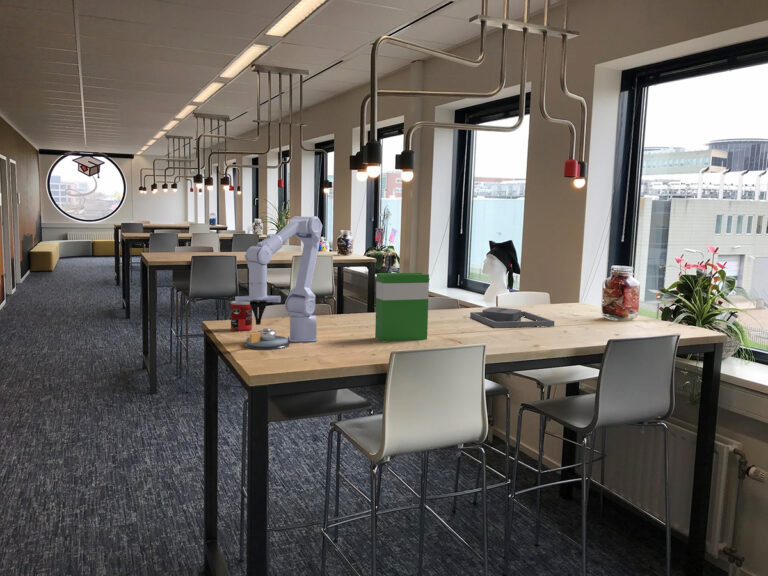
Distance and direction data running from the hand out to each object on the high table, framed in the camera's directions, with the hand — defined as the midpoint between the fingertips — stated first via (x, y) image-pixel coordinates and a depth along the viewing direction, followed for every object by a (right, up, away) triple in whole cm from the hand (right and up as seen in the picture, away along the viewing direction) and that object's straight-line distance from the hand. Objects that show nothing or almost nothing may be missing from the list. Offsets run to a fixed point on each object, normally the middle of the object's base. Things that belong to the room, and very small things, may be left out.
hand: (258, 324), depth 205 cm
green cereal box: (+48, -7, +25) cm, 54 cm away
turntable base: (+2, -8, +8) cm, 11 cm away
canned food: (-13, -5, +34) cm, 37 cm away
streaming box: (+93, -3, +69) cm, 116 cm away
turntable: (+2, -8, +8) cm, 11 cm away
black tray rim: (+97, -3, +68) cm, 118 cm away
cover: (+1, -6, +7) cm, 9 cm away
